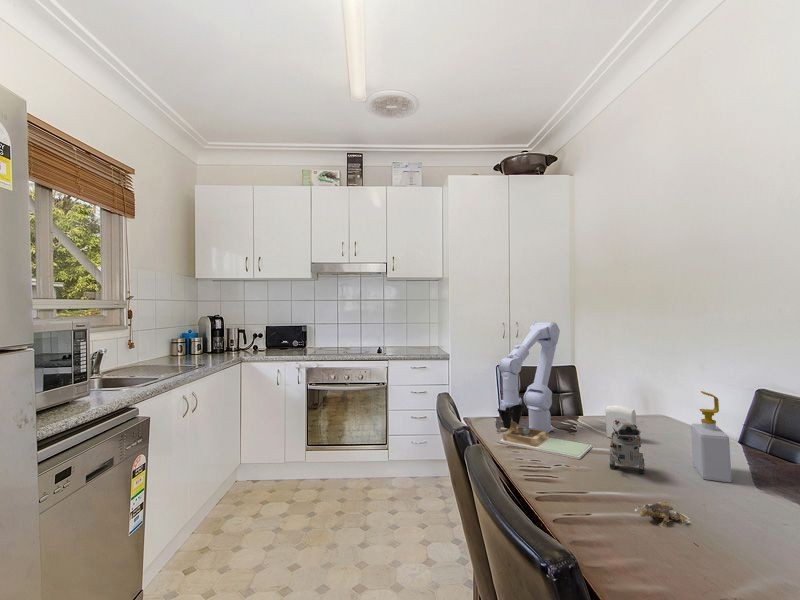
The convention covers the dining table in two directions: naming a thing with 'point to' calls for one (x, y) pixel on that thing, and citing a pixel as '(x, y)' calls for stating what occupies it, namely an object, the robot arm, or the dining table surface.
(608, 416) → the photo printer
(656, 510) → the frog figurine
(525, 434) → the peg
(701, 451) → the soap bottle
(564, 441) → the mat
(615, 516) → the dining table surface
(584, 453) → the board
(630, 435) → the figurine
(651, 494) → the dining table surface
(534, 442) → the wooden square frame
